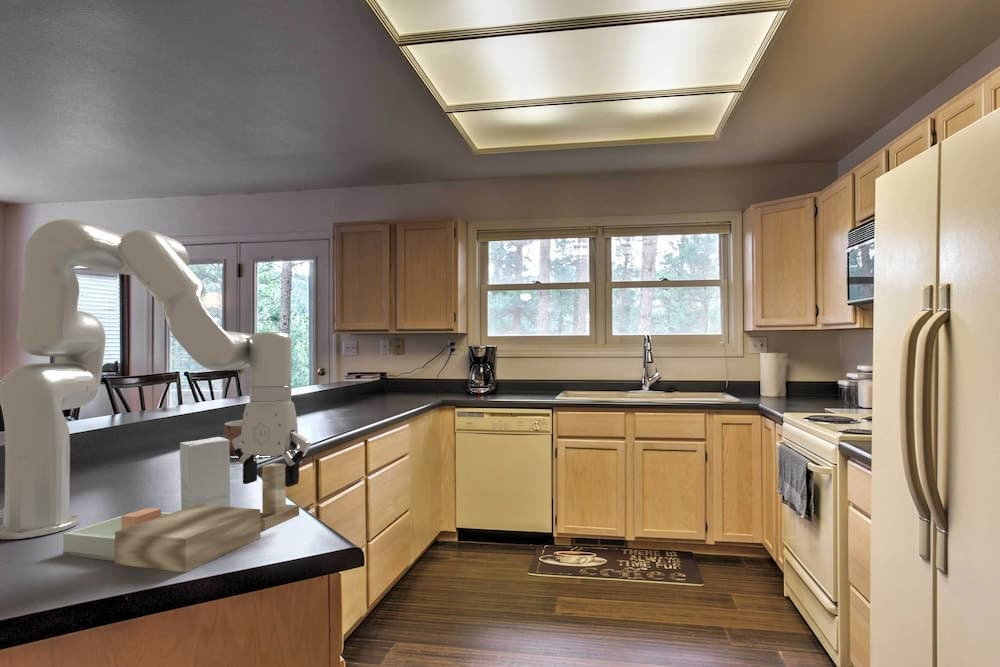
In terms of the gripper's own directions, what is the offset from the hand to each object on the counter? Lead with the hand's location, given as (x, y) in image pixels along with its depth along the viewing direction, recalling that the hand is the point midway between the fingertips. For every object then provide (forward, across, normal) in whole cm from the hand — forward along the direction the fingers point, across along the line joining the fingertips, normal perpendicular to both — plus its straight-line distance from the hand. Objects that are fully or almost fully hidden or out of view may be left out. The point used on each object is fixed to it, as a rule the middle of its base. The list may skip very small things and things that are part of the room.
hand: (270, 483), depth 107 cm
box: (+8, -16, -16) cm, 24 cm away
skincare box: (+8, -20, +4) cm, 22 cm away
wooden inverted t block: (+8, 0, +1) cm, 8 cm away
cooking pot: (+8, -57, +66) cm, 87 cm away
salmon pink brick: (+4, -12, -16) cm, 21 cm away
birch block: (+7, -3, -16) cm, 18 cm away
